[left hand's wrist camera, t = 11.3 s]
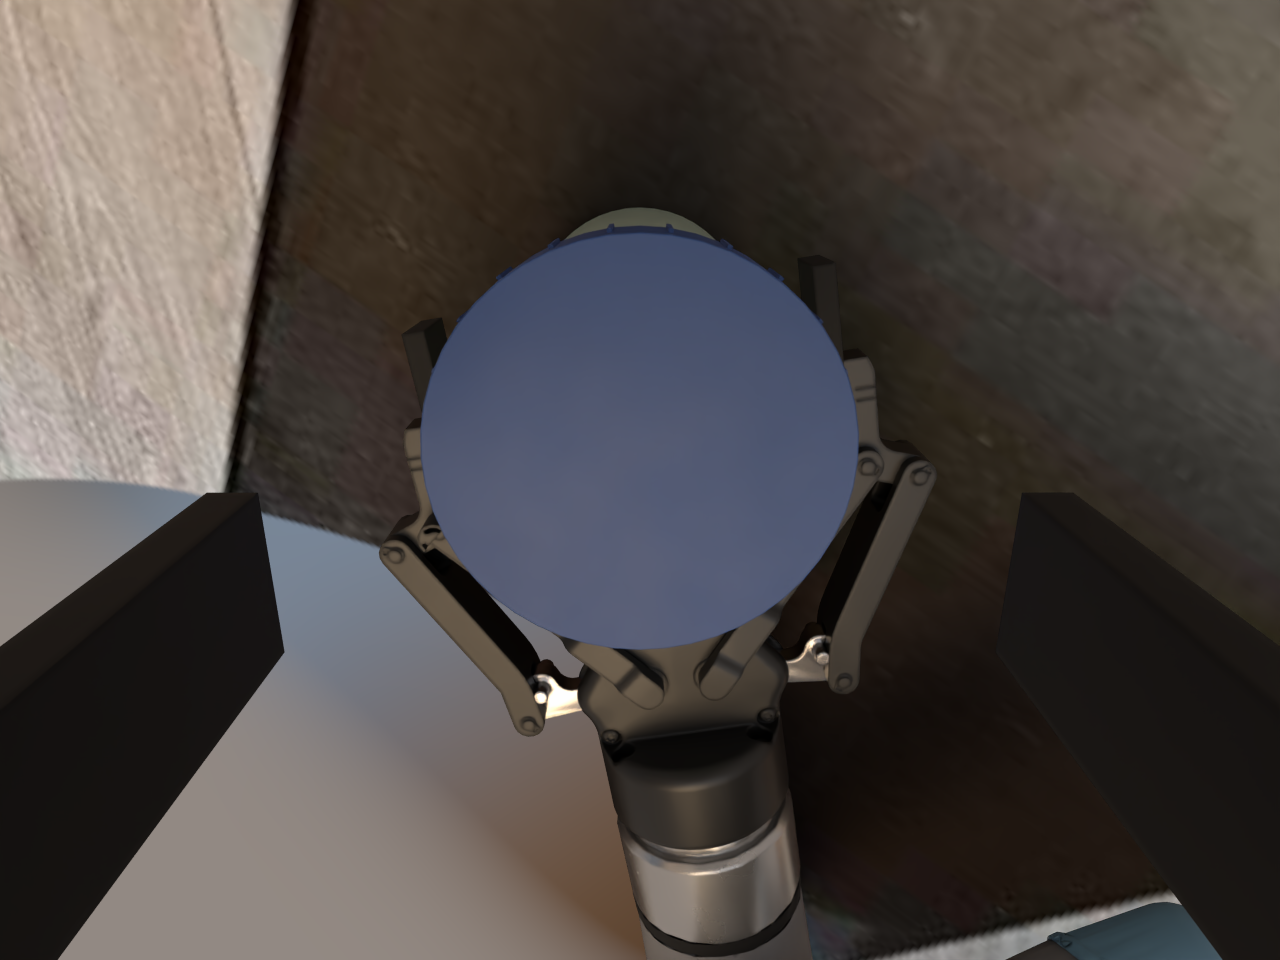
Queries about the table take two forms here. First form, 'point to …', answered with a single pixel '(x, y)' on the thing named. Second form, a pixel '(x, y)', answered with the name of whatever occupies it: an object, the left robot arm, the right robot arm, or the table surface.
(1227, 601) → the table surface
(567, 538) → the lid
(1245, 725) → the left robot arm
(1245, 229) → the table surface
